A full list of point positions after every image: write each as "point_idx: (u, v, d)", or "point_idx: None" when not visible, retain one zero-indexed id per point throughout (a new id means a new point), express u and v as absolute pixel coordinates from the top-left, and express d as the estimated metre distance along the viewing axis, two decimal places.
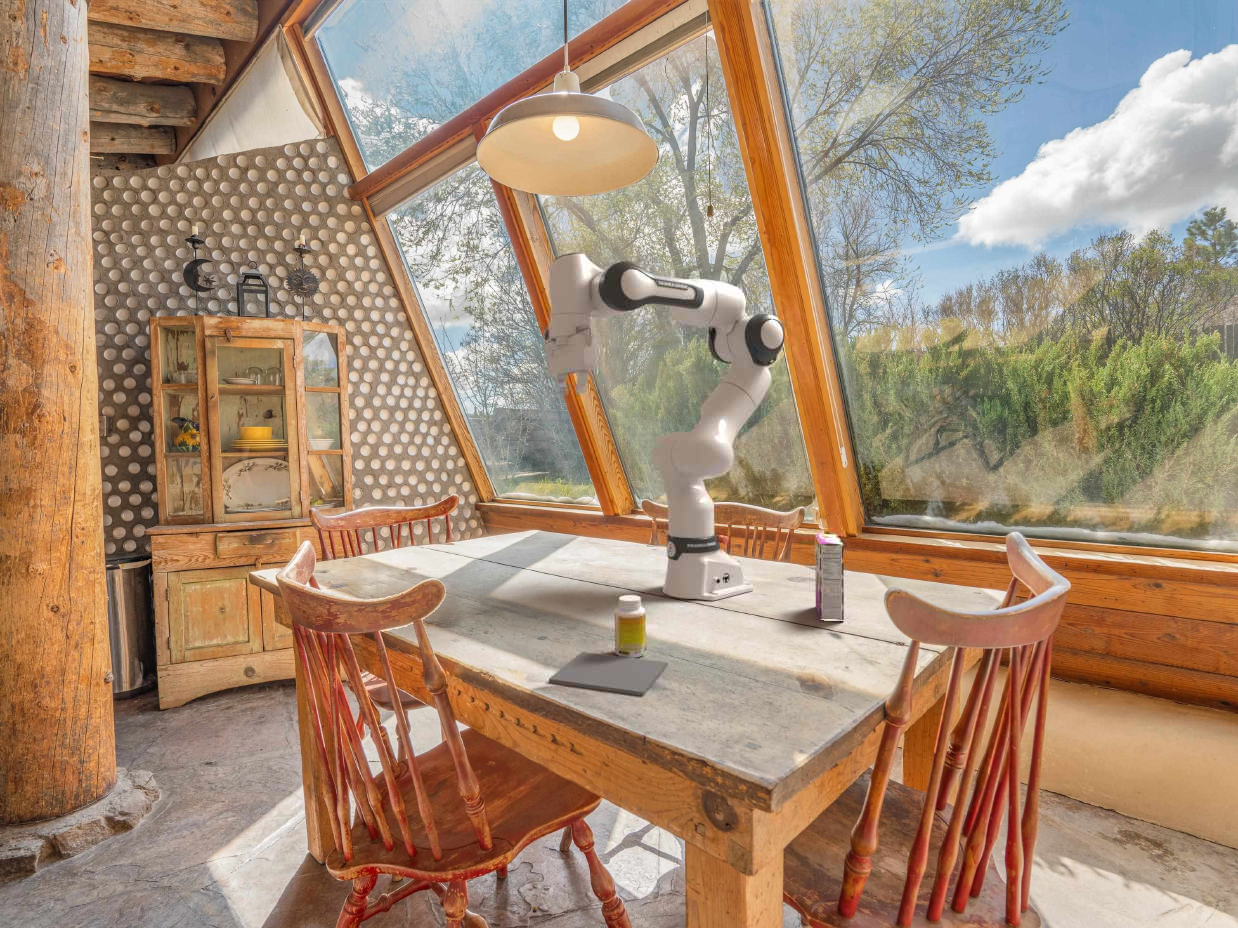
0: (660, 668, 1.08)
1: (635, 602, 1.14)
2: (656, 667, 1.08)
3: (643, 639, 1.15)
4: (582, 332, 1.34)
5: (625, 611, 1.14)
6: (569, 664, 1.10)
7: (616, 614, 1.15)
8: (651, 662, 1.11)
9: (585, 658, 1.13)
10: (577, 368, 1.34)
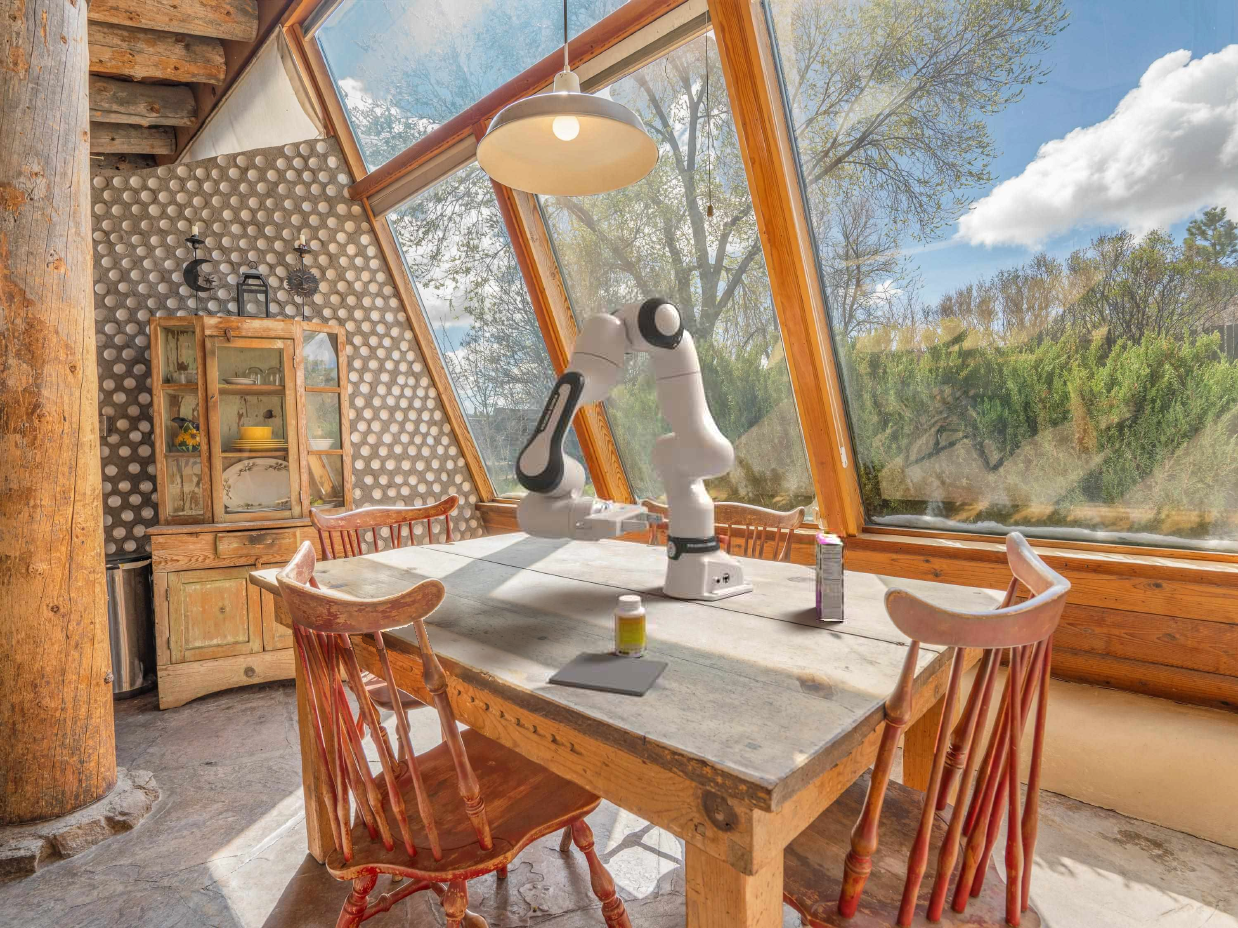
0: (660, 668, 1.08)
1: (635, 602, 1.14)
2: (656, 667, 1.08)
3: (643, 639, 1.15)
4: None
5: (625, 611, 1.14)
6: (569, 664, 1.10)
7: (616, 614, 1.15)
8: (651, 662, 1.11)
9: (585, 658, 1.13)
10: (619, 535, 1.22)
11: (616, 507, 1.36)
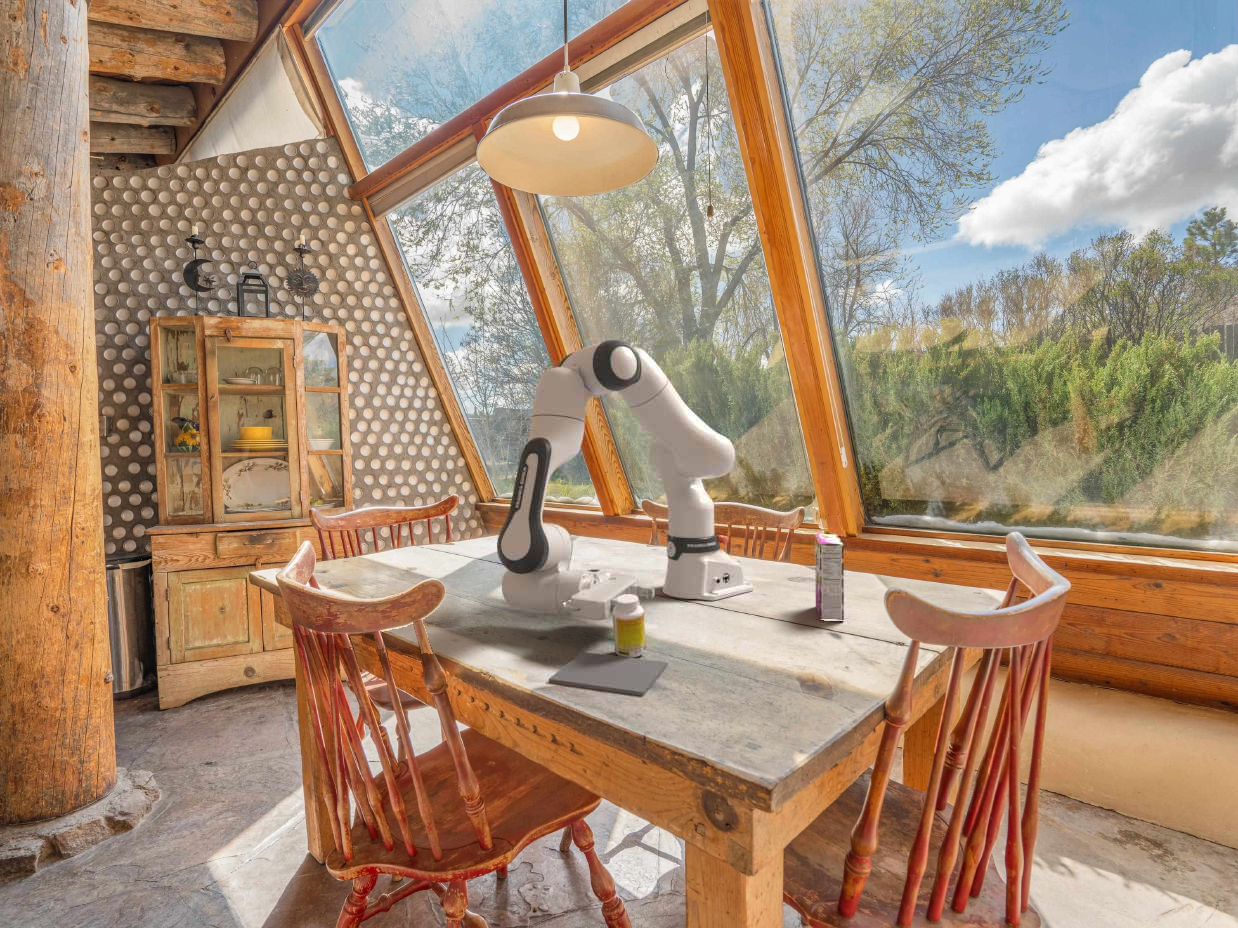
0: (660, 668, 1.08)
1: (632, 603, 1.13)
2: (656, 667, 1.08)
3: (642, 638, 1.15)
4: None
5: (623, 613, 1.13)
6: (569, 664, 1.10)
7: (614, 616, 1.14)
8: (651, 662, 1.11)
9: (585, 658, 1.13)
10: None
11: (605, 578, 1.31)
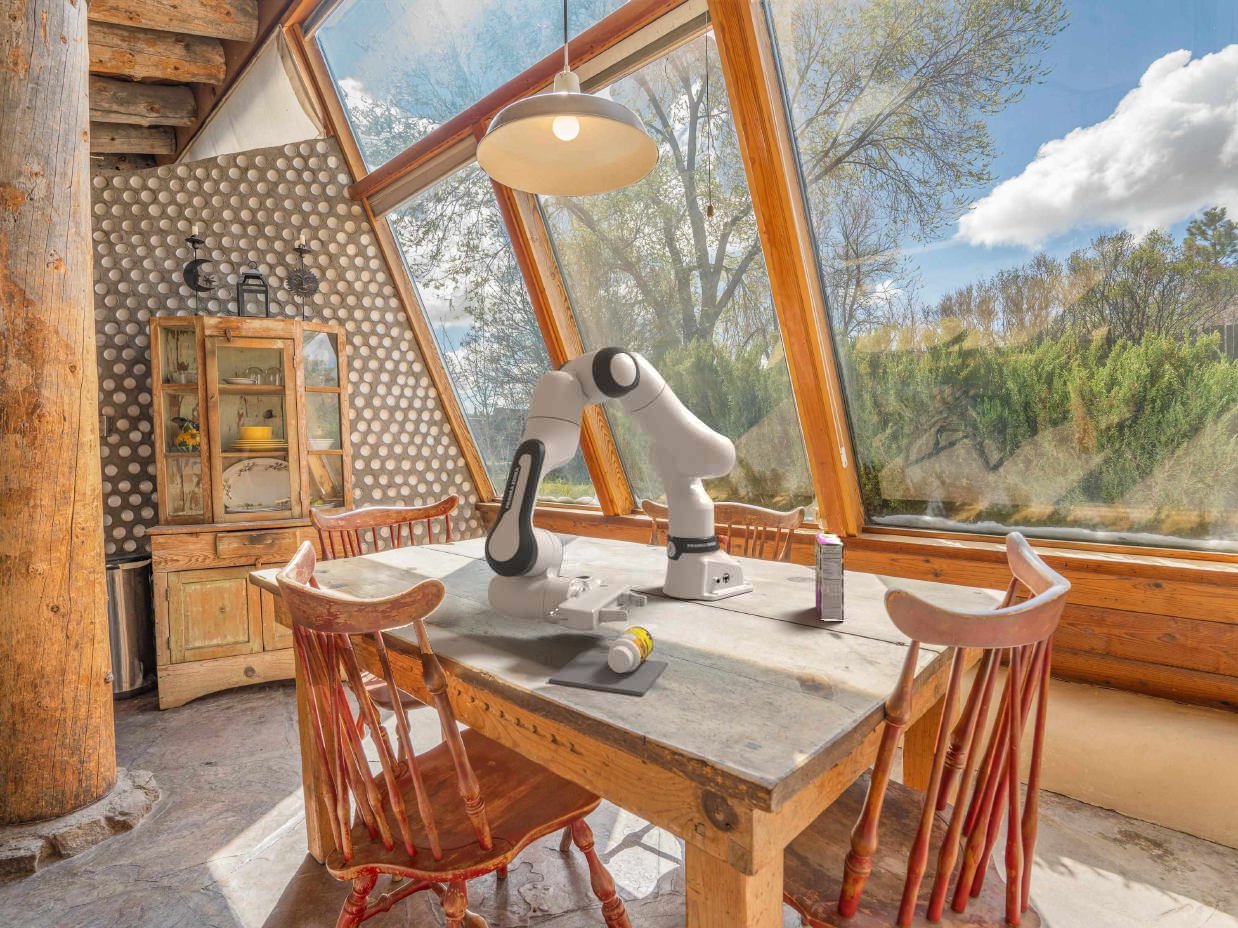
0: (660, 668, 1.08)
1: None
2: (656, 667, 1.08)
3: None
4: None
5: None
6: (569, 664, 1.10)
7: (609, 652, 1.07)
8: (651, 662, 1.11)
9: (585, 658, 1.13)
10: (596, 626, 1.13)
11: (596, 585, 1.26)
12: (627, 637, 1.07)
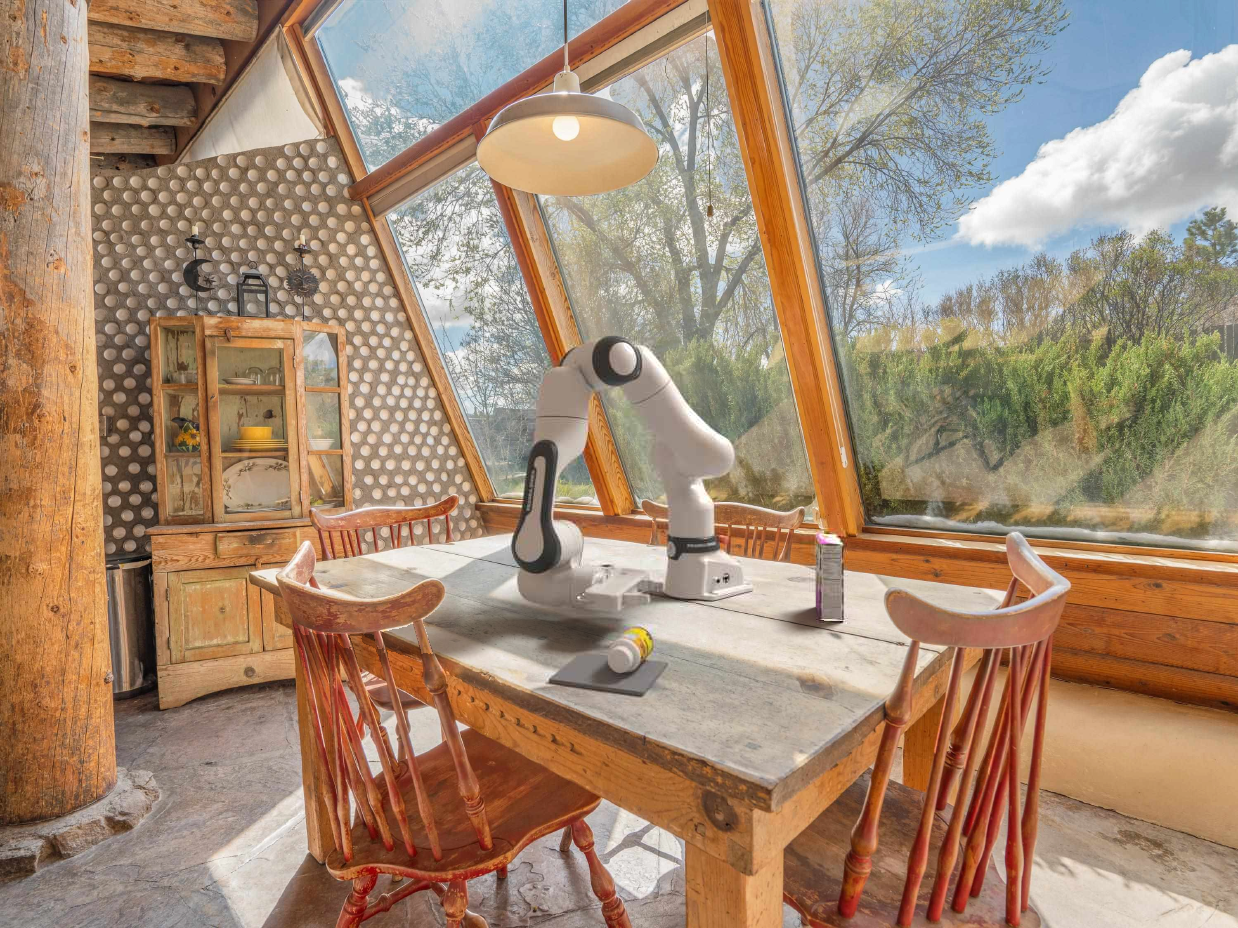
0: (660, 668, 1.08)
1: None
2: (656, 667, 1.08)
3: None
4: None
5: None
6: (569, 664, 1.10)
7: (609, 652, 1.07)
8: (651, 662, 1.11)
9: (585, 658, 1.13)
10: None
11: (617, 573, 1.36)
12: (627, 637, 1.07)
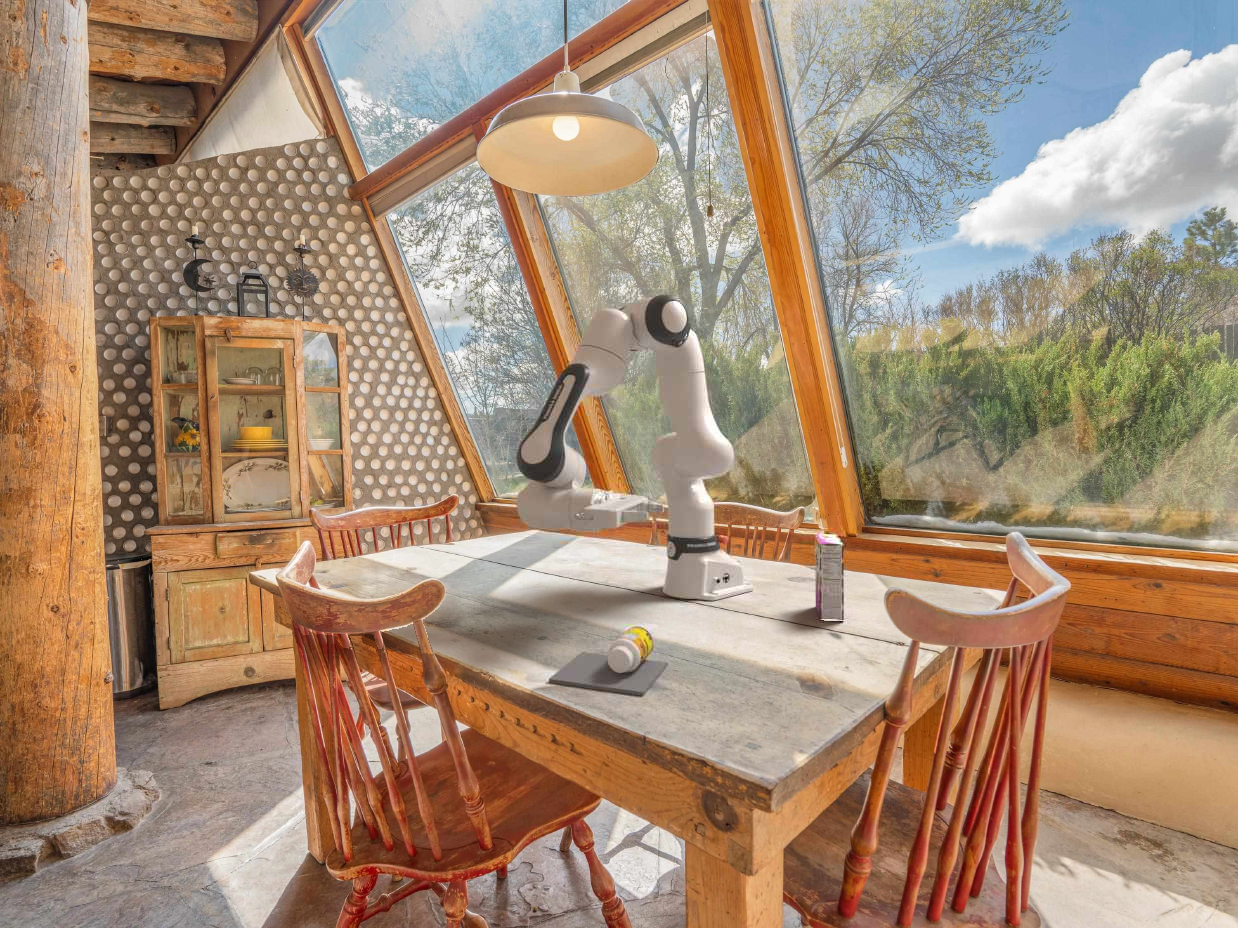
0: (660, 668, 1.08)
1: None
2: (656, 667, 1.08)
3: None
4: None
5: None
6: (569, 664, 1.10)
7: (609, 652, 1.07)
8: (651, 662, 1.11)
9: (585, 658, 1.13)
10: (619, 526, 1.22)
11: (616, 497, 1.36)
12: (627, 637, 1.07)
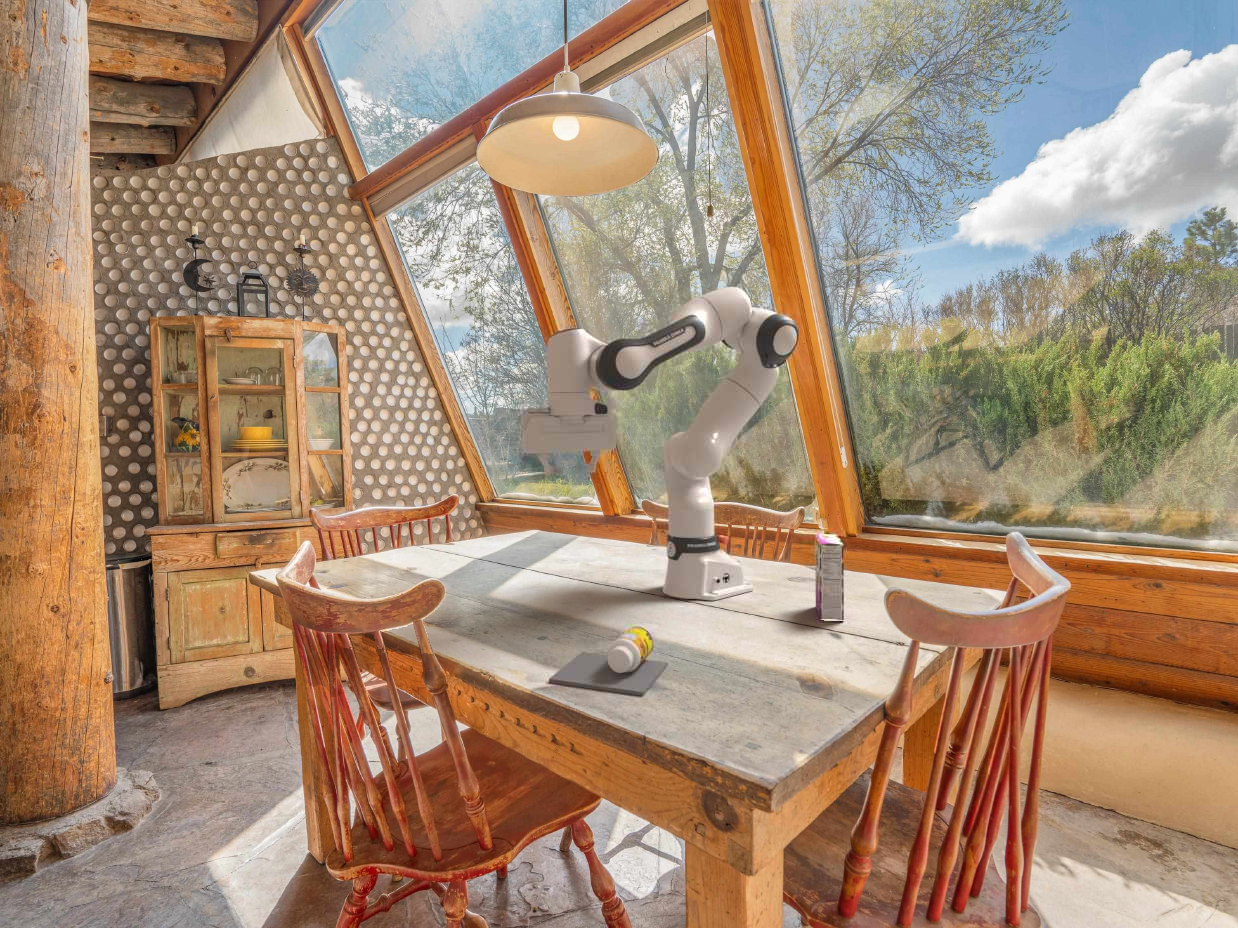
0: (660, 668, 1.08)
1: None
2: (656, 667, 1.08)
3: None
4: None
5: None
6: (569, 664, 1.10)
7: (609, 652, 1.07)
8: (651, 662, 1.11)
9: (585, 658, 1.13)
10: None
11: (597, 423, 1.36)
12: (627, 637, 1.07)
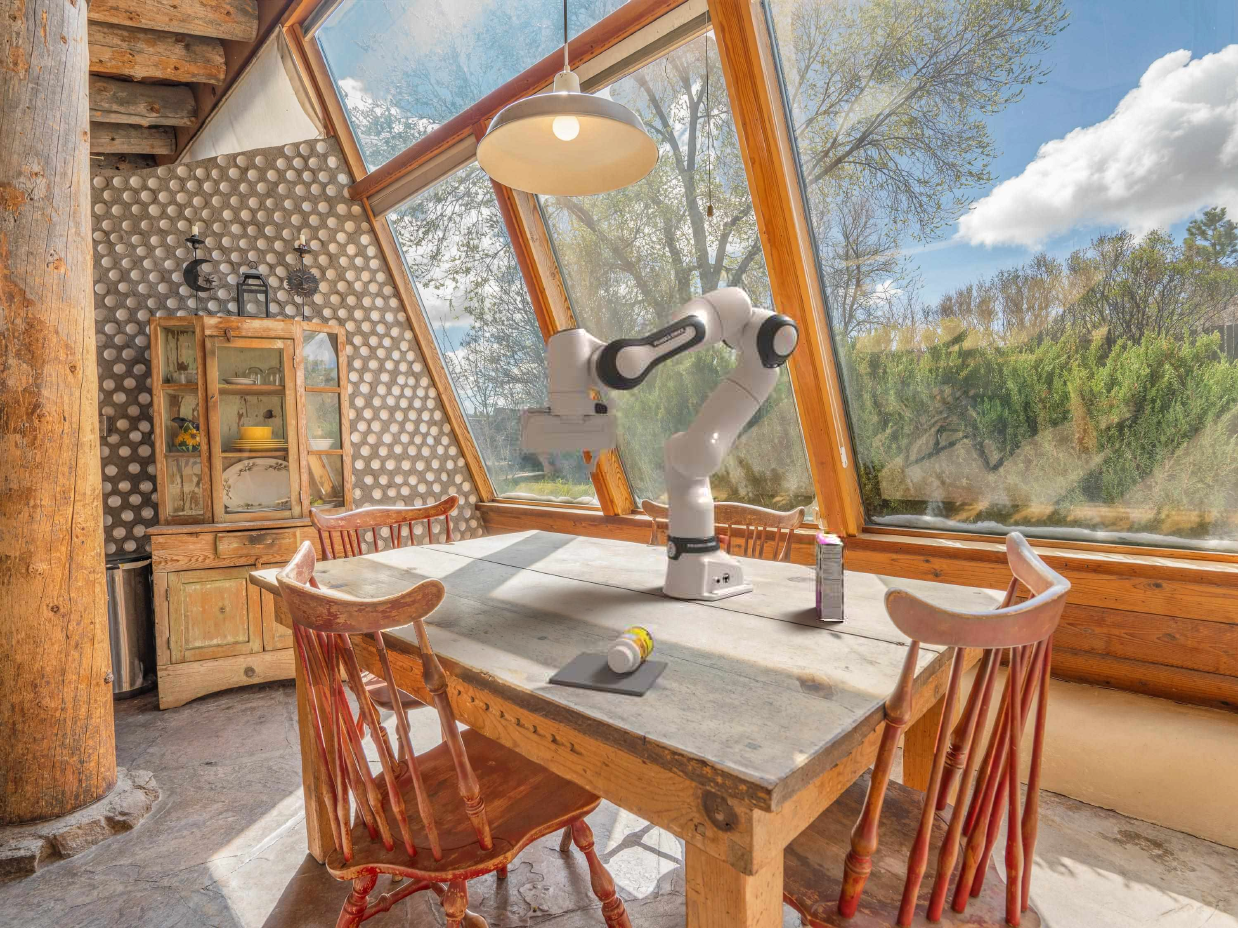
0: (660, 668, 1.08)
1: None
2: (656, 667, 1.08)
3: None
4: None
5: None
6: (569, 664, 1.10)
7: (609, 652, 1.07)
8: (651, 662, 1.11)
9: (585, 658, 1.13)
10: None
11: (597, 423, 1.36)
12: (627, 637, 1.07)
